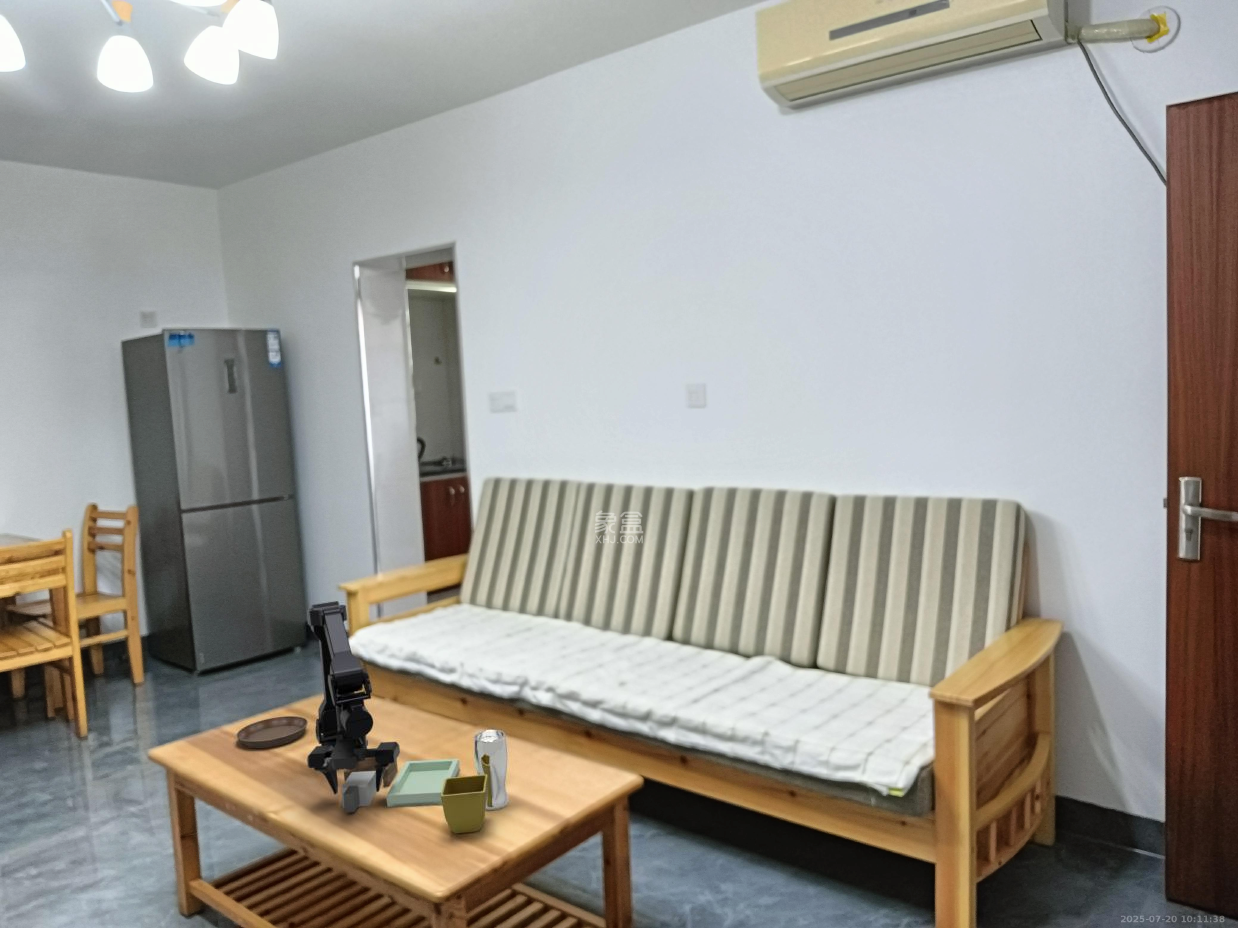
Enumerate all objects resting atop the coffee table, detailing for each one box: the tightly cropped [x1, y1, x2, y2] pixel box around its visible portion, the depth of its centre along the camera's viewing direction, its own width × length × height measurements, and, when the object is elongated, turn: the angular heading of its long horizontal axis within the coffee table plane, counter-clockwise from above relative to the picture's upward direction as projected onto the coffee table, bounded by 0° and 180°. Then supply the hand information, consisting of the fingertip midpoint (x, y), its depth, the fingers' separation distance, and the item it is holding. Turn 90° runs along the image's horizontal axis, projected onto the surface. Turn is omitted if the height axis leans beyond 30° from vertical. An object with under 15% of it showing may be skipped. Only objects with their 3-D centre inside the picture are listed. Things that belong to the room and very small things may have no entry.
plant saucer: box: [236, 715, 309, 749], centre depth 241 cm, size 18×18×3 cm
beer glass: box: [473, 729, 509, 811], centre depth 194 cm, size 7×7×15 cm
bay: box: [343, 758, 399, 788], centre depth 210 cm, size 10×8×4 cm
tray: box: [386, 758, 461, 808], centre depth 204 cm, size 12×18×3 cm
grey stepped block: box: [340, 771, 378, 813], centre depth 199 cm, size 6×12×5 cm, turn 0°
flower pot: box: [441, 774, 488, 834], centre depth 184 cm, size 9×9×9 cm
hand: (357, 792), depth 199 cm, fingers open, 9 cm apart
